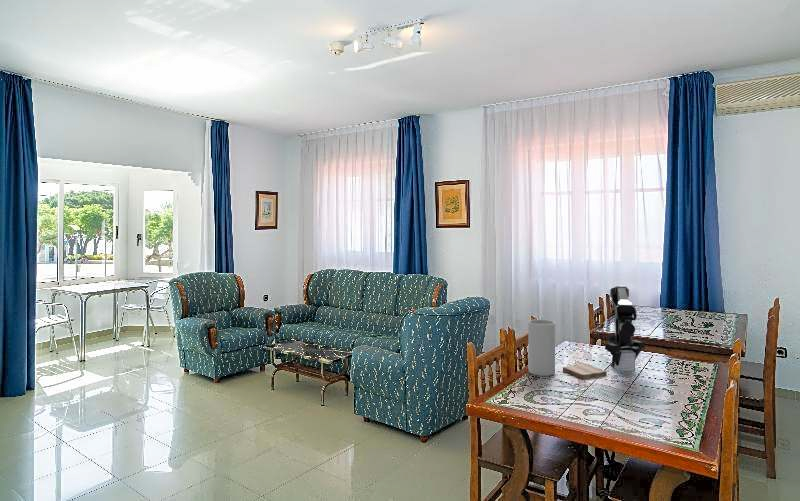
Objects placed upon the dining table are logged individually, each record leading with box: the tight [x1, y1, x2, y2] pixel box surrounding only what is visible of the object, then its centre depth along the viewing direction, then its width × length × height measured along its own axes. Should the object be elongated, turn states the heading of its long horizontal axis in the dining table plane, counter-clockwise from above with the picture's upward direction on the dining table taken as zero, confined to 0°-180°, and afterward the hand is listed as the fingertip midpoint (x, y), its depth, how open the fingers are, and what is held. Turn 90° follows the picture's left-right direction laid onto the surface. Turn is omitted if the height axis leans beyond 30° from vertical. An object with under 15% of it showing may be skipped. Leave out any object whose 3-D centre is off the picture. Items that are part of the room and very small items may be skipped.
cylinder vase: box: [527, 318, 556, 377], centre depth 235 cm, size 12×12×25 cm
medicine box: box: [614, 350, 636, 372], centre depth 224 cm, size 8×4×9 cm, turn 85°
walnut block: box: [562, 363, 608, 380], centre depth 233 cm, size 14×14×2 cm
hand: (624, 364), depth 224 cm, fingers closed on medicine box, 9 cm apart
